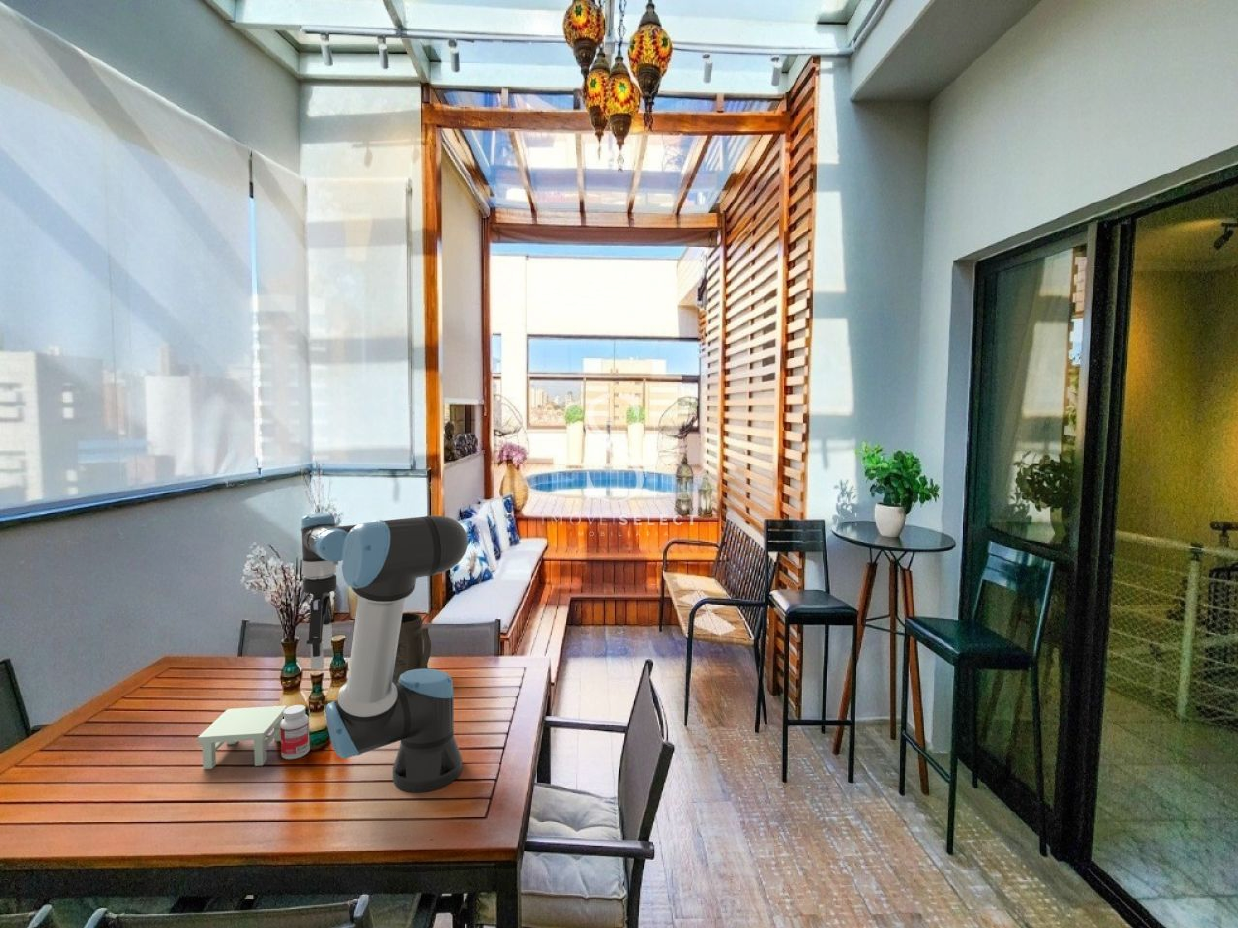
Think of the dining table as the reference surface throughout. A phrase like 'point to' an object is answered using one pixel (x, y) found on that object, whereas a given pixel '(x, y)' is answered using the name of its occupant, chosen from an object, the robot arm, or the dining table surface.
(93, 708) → the dining table surface
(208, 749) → the footstool
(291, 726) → the pill bottle
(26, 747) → the dining table surface
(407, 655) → the beer stein
